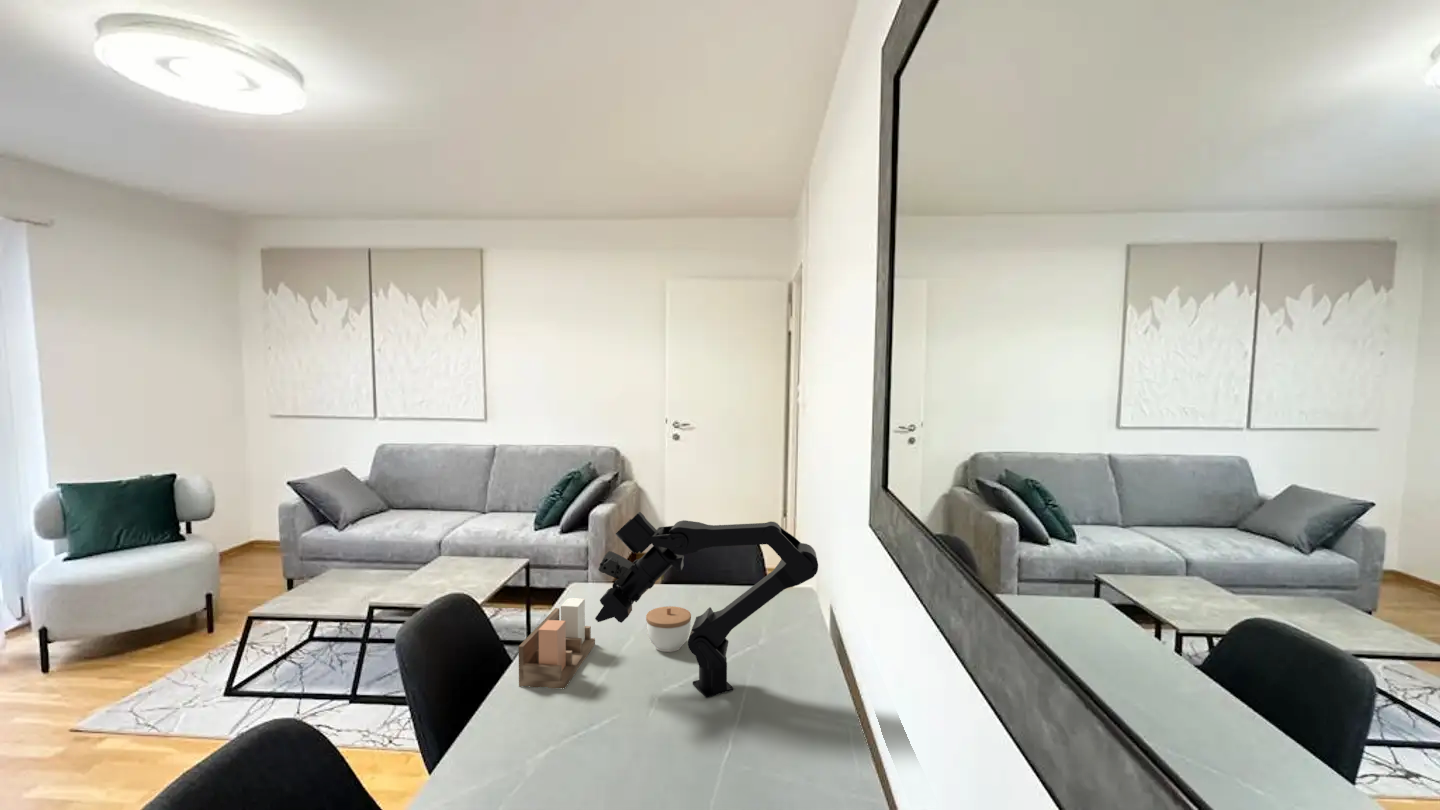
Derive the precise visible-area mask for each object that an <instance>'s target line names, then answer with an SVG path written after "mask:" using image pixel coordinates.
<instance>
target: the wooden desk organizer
mask: <svg viewBox="0 0 1440 810" xmlns="http://www.w3.org/2000/svg"><path fill="white" fill-rule="evenodd" d="M547 620H560V608H559V607H555V608H554V609H553V610H552V611H551V612H550V613H548V615H547V616H546V617H545V618H544V619H543V620H542V621H541V623H540V624H538V626H537V627H536V628H535V629H534V630H533V631H532V632H531V633H530V634H529V635H528V636H527V637H526V638H525V639H524V640H523V641H522V642H521V643H520V644H519V645H518V687H521V686H530V687H529V688H538V687H548V688H547V689H556V688H562V690H565V689H566V688H567V687H568V685H569V683H570V682H571V680H572V679H573V677H574V676H575V675H576V673H577V671H578V670H579V669H580V667H581V665H582V664H583V662H584V661H585V660H586V658H587V657H588V655H590V653H591V651H592V650H593V648H594V647H595V645H596V638H595V637H592V636H591V635H592V634H591V632H592V629H591V625H589V626H588V625H585V640H584V642H583V643H582V638H568V637H566V666H565V668H564V669H563V670H562V666H561V665H549V664H539V629H540V627H541V626H542V625H543V624H544V623H545V622H546V621H547ZM574 674H575V675H574ZM569 681H570V682H569ZM567 684H568V685H567ZM565 687H566V688H565ZM563 688H564V689H563Z"/></svg>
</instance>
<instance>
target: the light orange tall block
mask: <svg viewBox="0 0 1440 810" xmlns="http://www.w3.org/2000/svg"><path fill="white" fill-rule="evenodd" d="M539 664H549V665H561V666H562V670H563V669H564V668H565V666H566V621H561V619H559V620H547V621H546V622H545V623H544V624H543V625H542V626H541V627H540V629H539Z"/></svg>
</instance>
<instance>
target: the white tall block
mask: <svg viewBox="0 0 1440 810" xmlns="http://www.w3.org/2000/svg"><path fill="white" fill-rule="evenodd" d="M585 605H586V599H585V598H577V597H574V598H573V597H568V598H567V599H566V600H565V601H564V602H563V603H562V604H561V605H560V621H566V637H568V638H582V643H583V642H584V640H585V626H586V614H585V613H586V606H585Z"/></svg>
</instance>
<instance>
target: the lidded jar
mask: <svg viewBox="0 0 1440 810" xmlns="http://www.w3.org/2000/svg"><path fill="white" fill-rule="evenodd" d="M691 620H692V614H691V611H689V610H688V609H686V608H684V607H681V606H680V607H679V606H671V605H669V606H660V607H656V608H653V609H651V610H649V611H648V612H647V613H646V615H645V621H646V632H647V636H648V639H649V641H650V643H652V645H653V646H654V647H655V648H656V649H657V651H660V652H663V653H672V652H677V651H678V650H680V649H681V648H682V646H683V645H684V644H685V643H686V642H687V641H688V639H689V636H690V633H691V623H692V621H691Z"/></svg>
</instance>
